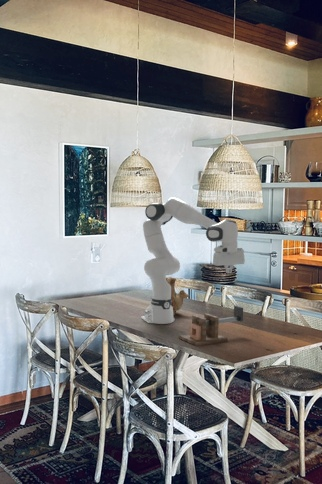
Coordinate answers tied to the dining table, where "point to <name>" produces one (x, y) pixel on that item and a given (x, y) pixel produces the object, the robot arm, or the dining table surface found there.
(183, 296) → the tan plush toy
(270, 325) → the dining table surface
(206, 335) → the stand
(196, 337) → the spacer
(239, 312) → the shaft
